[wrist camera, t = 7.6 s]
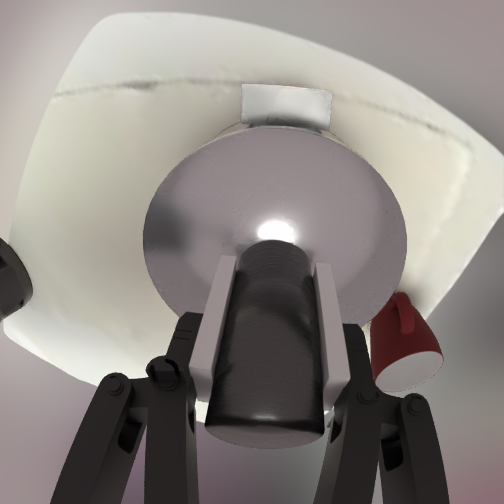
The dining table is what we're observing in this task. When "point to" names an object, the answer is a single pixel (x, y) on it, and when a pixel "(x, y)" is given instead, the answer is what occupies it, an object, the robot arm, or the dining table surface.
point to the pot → (284, 108)
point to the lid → (273, 266)
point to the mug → (402, 346)
